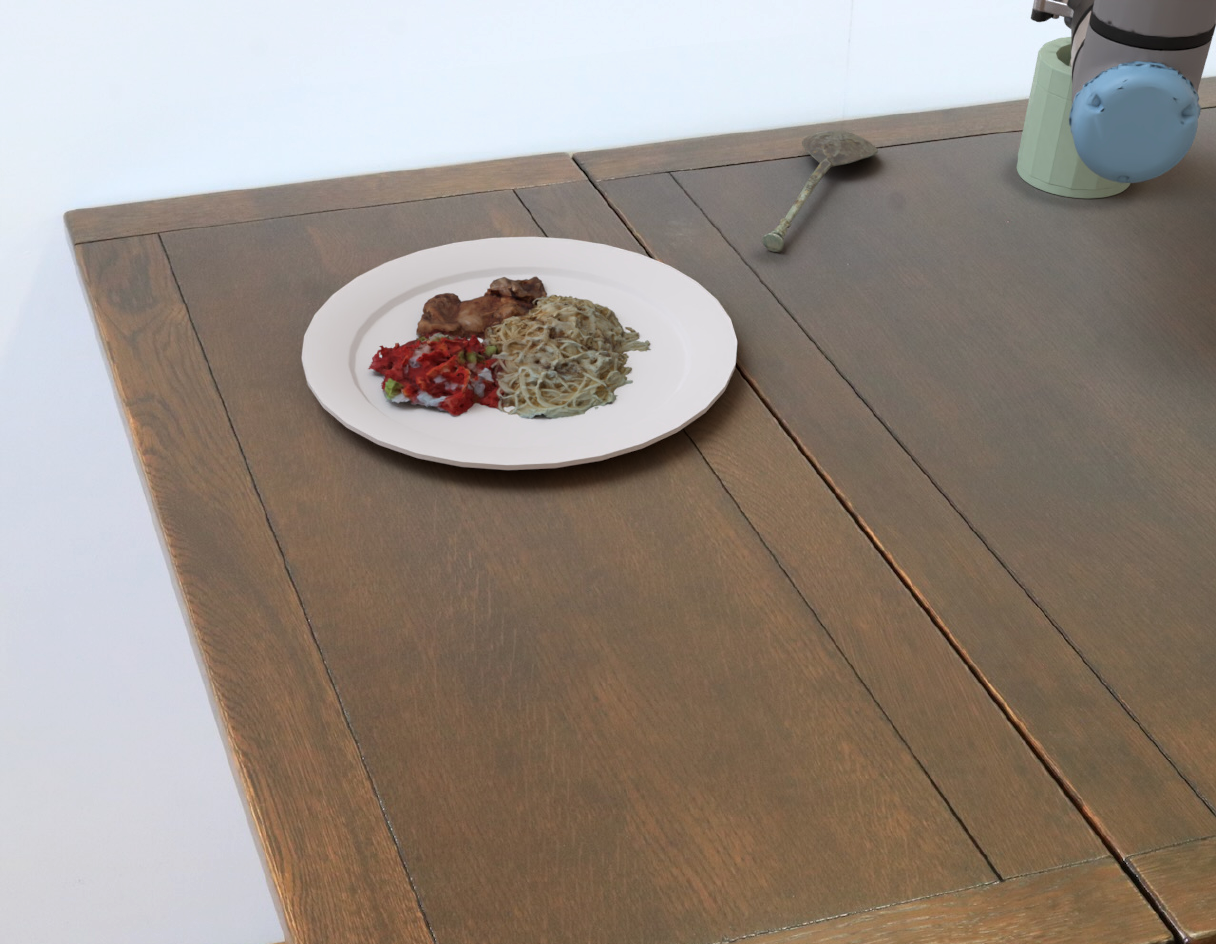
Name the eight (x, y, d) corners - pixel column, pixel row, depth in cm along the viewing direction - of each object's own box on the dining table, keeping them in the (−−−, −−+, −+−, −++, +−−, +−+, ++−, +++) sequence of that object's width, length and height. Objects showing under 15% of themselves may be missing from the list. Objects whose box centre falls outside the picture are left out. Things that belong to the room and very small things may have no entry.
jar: (1142, 164, 130) (1172, 49, 123) (1115, 208, 123) (1145, 89, 117) (1034, 141, 133) (1057, 28, 126) (1002, 183, 127) (1025, 66, 120)
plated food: (812, 335, 108) (817, 293, 105) (572, 548, 89) (572, 503, 87) (483, 223, 120) (481, 184, 118) (212, 390, 101) (204, 347, 99)
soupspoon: (885, 159, 131) (814, 149, 134) (889, 121, 129) (816, 112, 132) (810, 260, 116) (730, 247, 118) (813, 218, 114) (731, 206, 116)
